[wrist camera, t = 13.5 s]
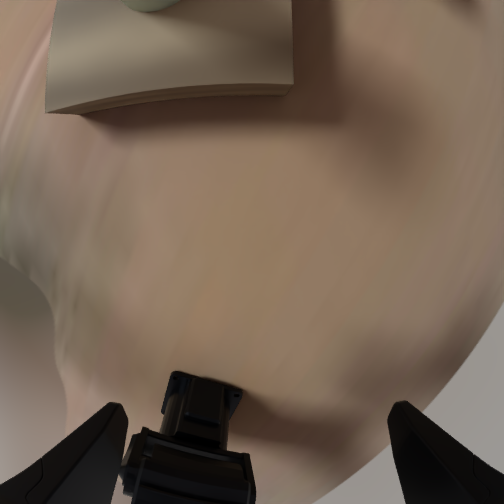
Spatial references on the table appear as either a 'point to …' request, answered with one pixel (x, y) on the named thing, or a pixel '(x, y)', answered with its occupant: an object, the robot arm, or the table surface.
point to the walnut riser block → (166, 52)
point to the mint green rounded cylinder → (148, 4)
